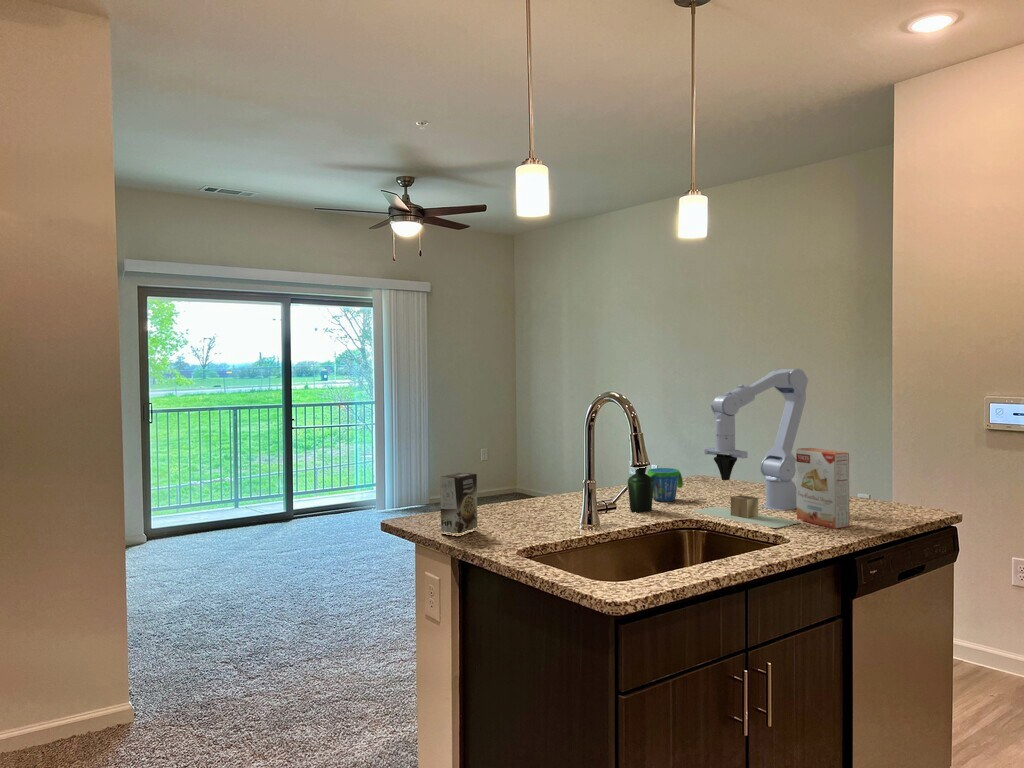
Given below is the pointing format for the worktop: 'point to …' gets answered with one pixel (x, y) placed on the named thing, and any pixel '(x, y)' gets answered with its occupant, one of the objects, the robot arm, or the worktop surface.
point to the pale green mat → (758, 520)
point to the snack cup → (665, 483)
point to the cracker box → (823, 487)
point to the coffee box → (458, 502)
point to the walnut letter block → (744, 506)
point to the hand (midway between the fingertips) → (725, 480)
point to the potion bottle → (640, 491)
